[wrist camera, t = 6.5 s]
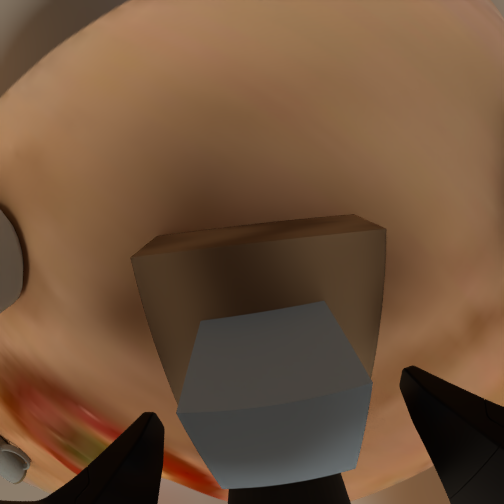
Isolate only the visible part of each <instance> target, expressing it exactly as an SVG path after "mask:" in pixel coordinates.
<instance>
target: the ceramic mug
mask: <svg viewBox="0 0 504 504" xmlns="http://www.w3.org/2000/svg"><path fill="white" fill-rule="evenodd" d="M20 456H21V457H22V458H23V459H24V460H25V461H26V462H27V463H25V461H24V460H23V459H22V458H21V457H20ZM29 467H30V459H29V457H28V456H27V455H26V454H25V453H24V452H23V451H22V450H20V449H19V448H17V447H15V446H13V445H9V444H7V443H6V442H5V441H4V440H3V439H2V438H1V437H0V475H1V476H2V477H3V478H5V479H6V480H8V481H9V482H11V483H13V484H18V483H20V482H21V481H23V479H24V478H25V476H26V473H27V469H29Z"/></svg>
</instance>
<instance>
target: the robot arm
mask: <svg viewBox="0 0 504 504" xmlns="http://www.w3.org/2000/svg"><path fill="white" fill-rule="evenodd" d="M400 390H401V393H402V395H403V398H404V400H405V403H406V406H407V408H408V411H409V414H410V417H411V419H412V421H413V424H414V426H415V428H416V430H417V432H418V433H419V435H420V437H421V439H422V441H423V443H424V446H425V448H426V450H427V452H428V454H429V456H430V458H431V460H432V462H433V464H434V466H435V469H436V471H437V473H438V475H439V477H440V479H441V482H442V484H443V486H444V489H445V491H446V493H447V496H448V498H449V500H450V503H451V504H504V407H503V406H500V405H498V404H495V403H493V402H491V401H488V400H486V399H485V400H484V398H481V397H479V396H477V395H475V394H473V393H471V392H468V391H466V390H464V389H462V388H460V387H458V386H456V385H453V384H451V383H449V382H447V381H445V380H443V379H441V378H439V377H437V376H434V375H432V374H430V373H428V372H426V371H424V370H422V369H420V368H418V367H416V366H413V365H412V366H409V367H406V368H404V369H403V370H402V375H401V380H400ZM163 454H164V426H163V424H162V422H161V421H160V419H159V418H158V416H157V415H156V413H154V412H144V413H143V414H142V415H141V416H140V417H139V418H138V419H137V420H136V421H134V422H133V423H132V424H131V425H130V426H129V427H128V428H127V429H126V430H125V431H124V432H123V433H122V434H121V435H120V436H119V437H118V438H117V439H116V440H115V441H114V442H113V443H112V444H111V445H110V446H108V447H107V448H106V449H105V450H104V451H103V452H102V453H101V454H100V455H99V456H98V457H97V458H96V459H95V460H93V461H92V462H91V463H90V464H89V465H88V467H86V468H85V469H84V470H82V471H81V472H80V473H79V474H78V475H77V476H75V477H74V478H73V479H72V480H70V481H69V482H68V483H66V484H65V485H64V486H62V487H61V488H59V489H58V490H56V491H55V492H53V493H52V494H51V495H49V496H48V497H46V498H44V499H42V500H39V501H2V500H0V504H157V503H158V496H159V488H160V481H161V475H162V468H163Z"/></svg>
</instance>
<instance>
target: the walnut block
mask: <svg viewBox="0 0 504 504" xmlns="http://www.w3.org/2000/svg"><path fill="white" fill-rule="evenodd" d="M385 259H386V229H385V228H383V227H381V226H379V225H377V224H374V223H372V222H370V221H368V220H365V219H363V218H361V217H359V216H356V215H354V214H352V215H341V216H329V217H319V218H308V219H298V220H288V221H278V222H269V223H260V224H251V225H242V226H233V227H225V228H217V229H208V230H200V231H193V232H185V233H177V234H170V235H162V236H157V237H156V238H154V239H153V240H152V241H150V242H149V243H148V244H147V245H145V246H144V247H143V248H142V249H140V250H139V251H138V252H137V253H135V254H134V255H133V256H132V257H131V261H132V266H133V270H134V274H135V278H136V282H137V286H138V290H139V293H140V297H141V301H142V304H143V308H144V311H145V314H146V318H147V321H148V324H149V328H150V331H151V334H152V337H153V340H154V343H155V346H156V349H157V352H158V355H159V358H160V360H161V363H162V366H163V369H164V371H165V374H166V377H167V379H168V382H169V384H170V387H171V389H172V392H173V394H174V397H175V399H176V402H177V404H179V400H180V396H181V392H182V388H183V384H184V381H185V377H186V373H187V369H188V365H189V362H190V358H191V354H192V350H193V347H194V343H195V340H196V336H197V332H198V329H199V325H200V322H201V321H203V320H211V319H218V318H226V317H233V316H239V315H246V314H252V313H259V312H265V311H271V310H277V309H282V308H288V307H294V306H299V305H304V304H310V303H315V302H320V301H325V303H326V304H327V306H328V307H329V309H330V311H331V312H332V314H333V316H334V317H335V319H336V321H337V322H338V324H339V326H340V327H341V329H342V331H343V332H344V334H345V336H346V337H347V339H348V341H349V342H350V344H351V346H352V347H353V349H354V351H355V353H356V354H357V356H358V358H359V359H360V361H361V363H362V365H363V366H364V368H365V370H366V372H367V373H368V375H369V377H370V379H371V376H372V371H373V365H374V360H375V354H376V348H377V342H378V335H379V327H380V319H381V311H382V301H383V290H384V277H385Z"/></svg>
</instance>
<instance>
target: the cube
mask: <svg viewBox="0 0 504 504" xmlns="http://www.w3.org/2000/svg"><path fill="white" fill-rule="evenodd" d="M372 384H373V382H372V380H371V379H370V377H369V375H368V373H367V372H366V370H365V368H364V366H363V365H362V363H361V361H360V359H359V358H358V356H357V354H356V353H355V351H354V349H353V347H352V346H351V344H350V342H349V341H348V339H347V337H346V336H345V334H344V332H343V331H342V329H341V327H340V326H339V324H338V322H337V321H336V319H335V317H334V316H333V314H332V312H331V311H330V309H329V307H328V306H327V304H326V303H325V301H320V302H315V303H310V304H304V305H299V306H294V307H288V308H282V309H277V310H271V311H265V312H259V313H252V314H246V315H239V316H233V317H226V318H218V319H211V320H203V321H201V322H200V325H199V329H198V332H197V336H196V340H195V343H194V347H193V350H192V354H191V358H190V362H189V365H188V369H187V373H186V377H185V381H184V384H183V388H182V392H181V396H180V400H179V404H178V408H177V412H176V414H177V415H178V417H179V419H180V421H181V423H182V425H183V427H184V428H185V430H186V432H187V434H188V435H189V437H190V439H191V441H192V442H193V444H194V446H195V447H196V449H197V451H198V452H199V454H200V456H201V457H202V459H203V461H204V462H205V464H206V465H207V467H208V468H209V470H210V471H211V473H212V474H213V476H214V477H215V479H216V480H217V482H218V483H219V485H220V486H221V488H222V489H236V488H252V487H264V486H273V485H281V484H288V483H294V482H300V481H306V480H311V479H316V478H320V477H325V476H329V475H333V474H337V473H341V472H345V471H348V470H352V469H355V468H356V465H357V461H358V457H359V453H360V449H361V444H362V440H363V435H364V431H365V426H366V420H367V415H368V410H369V404H370V398H371V391H372Z"/></svg>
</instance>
